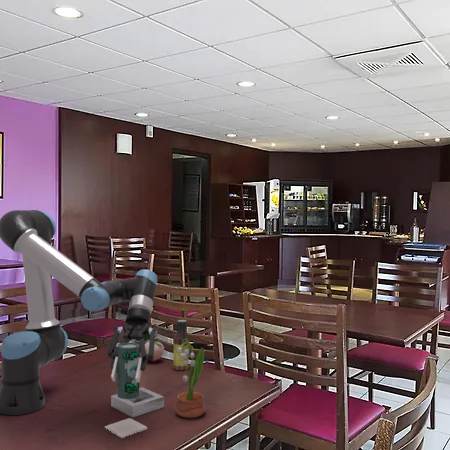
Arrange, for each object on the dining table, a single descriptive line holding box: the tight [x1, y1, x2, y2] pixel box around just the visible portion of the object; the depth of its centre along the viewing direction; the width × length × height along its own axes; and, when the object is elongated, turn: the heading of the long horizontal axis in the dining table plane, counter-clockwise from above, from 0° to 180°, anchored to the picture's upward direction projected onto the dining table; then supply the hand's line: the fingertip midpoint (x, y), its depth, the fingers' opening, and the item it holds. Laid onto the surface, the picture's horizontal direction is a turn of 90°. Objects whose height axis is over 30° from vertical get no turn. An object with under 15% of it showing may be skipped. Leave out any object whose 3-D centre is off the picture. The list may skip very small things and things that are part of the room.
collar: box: [110, 386, 165, 418], centre depth 170 cm, size 12×12×4 cm
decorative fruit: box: [145, 340, 165, 362], centre depth 219 cm, size 9×8×10 cm
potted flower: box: [174, 337, 207, 419], centre depth 164 cm, size 12×10×25 cm
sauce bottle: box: [172, 319, 190, 371], centre depth 210 cm, size 7×6×20 cm
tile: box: [104, 417, 148, 439], centre depth 153 cm, size 9×9×1 cm
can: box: [116, 342, 141, 399], centre depth 152 cm, size 6×6×15 cm
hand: (125, 379), depth 149 cm, fingers closed on can, 6 cm apart
